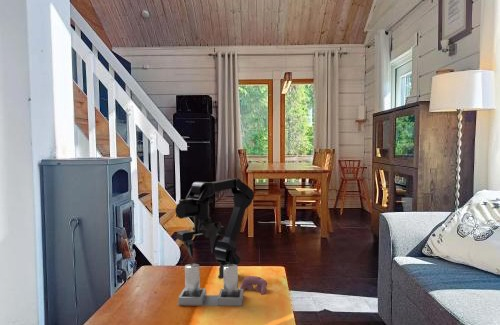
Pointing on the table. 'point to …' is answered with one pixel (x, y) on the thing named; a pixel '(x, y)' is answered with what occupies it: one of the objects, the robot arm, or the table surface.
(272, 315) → the table surface
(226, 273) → the billet
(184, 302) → the grey socket holder
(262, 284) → the video game controller
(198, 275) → the cylinder
